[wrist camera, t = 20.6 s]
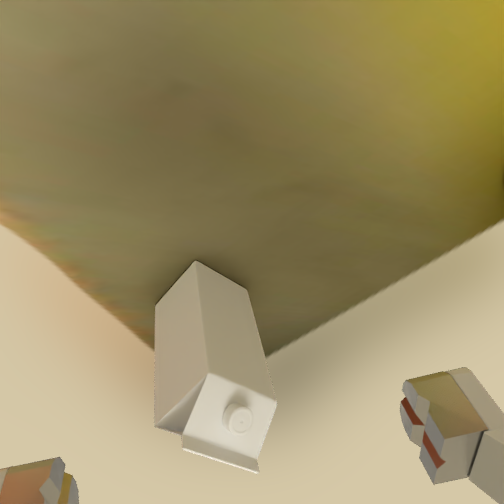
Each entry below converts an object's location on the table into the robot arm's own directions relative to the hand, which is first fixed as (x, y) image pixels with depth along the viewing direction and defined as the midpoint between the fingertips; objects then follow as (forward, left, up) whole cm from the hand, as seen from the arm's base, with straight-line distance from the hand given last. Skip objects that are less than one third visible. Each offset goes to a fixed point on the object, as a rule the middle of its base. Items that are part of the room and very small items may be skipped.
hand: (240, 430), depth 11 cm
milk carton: (+2, +21, -31) cm, 38 cm away
